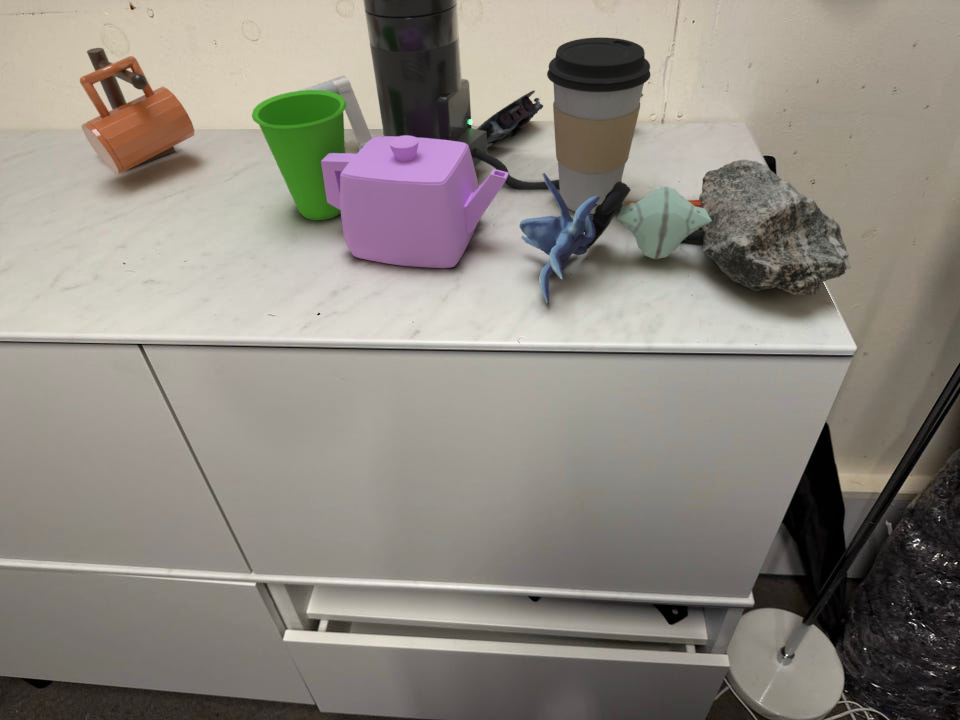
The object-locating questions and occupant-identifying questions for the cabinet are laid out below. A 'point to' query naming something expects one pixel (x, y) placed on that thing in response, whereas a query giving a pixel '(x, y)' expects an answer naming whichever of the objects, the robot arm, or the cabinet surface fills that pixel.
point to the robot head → (662, 221)
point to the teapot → (409, 199)
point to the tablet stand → (348, 106)
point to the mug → (134, 121)
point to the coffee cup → (595, 113)
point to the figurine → (570, 230)
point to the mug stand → (113, 87)
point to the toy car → (510, 119)
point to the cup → (304, 143)
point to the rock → (768, 231)
